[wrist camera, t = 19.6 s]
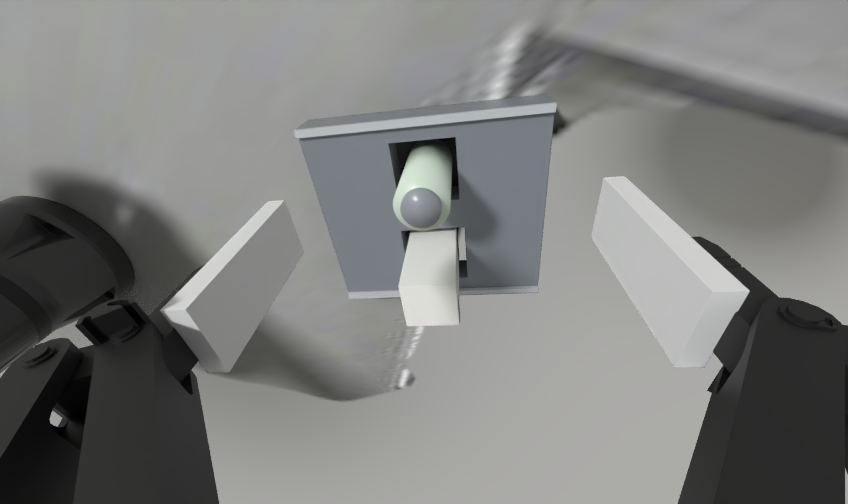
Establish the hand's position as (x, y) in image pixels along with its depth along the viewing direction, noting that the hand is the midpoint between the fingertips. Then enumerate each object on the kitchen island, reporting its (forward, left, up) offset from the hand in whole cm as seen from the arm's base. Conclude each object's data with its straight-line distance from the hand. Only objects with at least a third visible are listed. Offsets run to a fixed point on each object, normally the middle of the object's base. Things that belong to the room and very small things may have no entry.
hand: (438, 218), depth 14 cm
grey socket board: (-2, -8, -17) cm, 19 cm away
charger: (-2, -12, -17) cm, 21 cm away
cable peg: (-2, -4, -17) cm, 18 cm away
